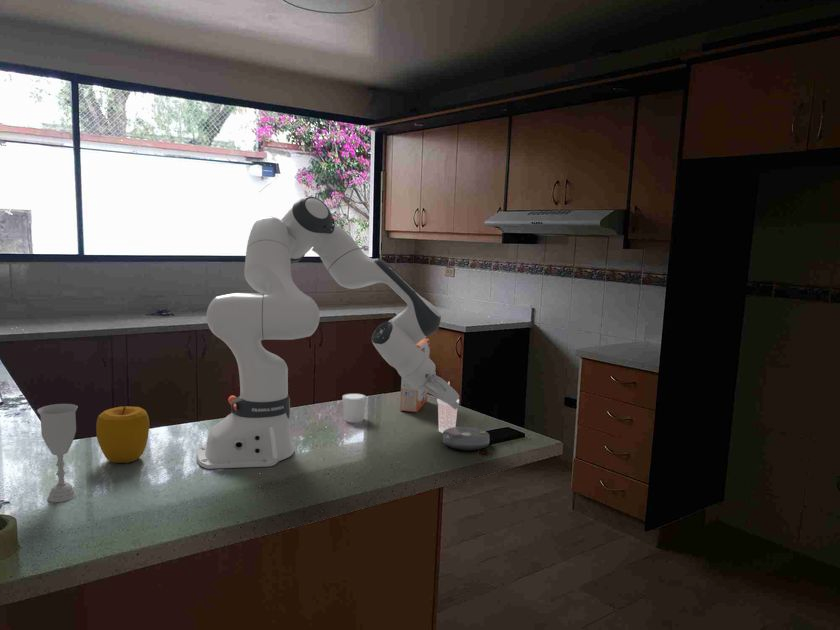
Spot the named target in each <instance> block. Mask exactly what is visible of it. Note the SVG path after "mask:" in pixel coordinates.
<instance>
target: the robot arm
mask: <svg viewBox="0 0 840 630" xmlns="http://www.w3.org/2000/svg"><path fill="white" fill-rule="evenodd" d="M245 250H246V251H245V259H244V261H245V262H244V269H243V270H244V271H243V275H244V276H243V277H244V279H245V281H246V283H248V285H249V286H250V287H251V288H252V289H253V290H254V291H256V292H233V293H227V294H221V295H217V296H215V297H214V298H213V299H212V300H211V301H210V303H209V305H208V307H207V310H206V323H207V325H208V328H209V331H211V333H212V334H213V335H214V336H215V337H216V338H218V339H220V340H221V341H223V342H224V344H226V346H227V347H228V348H229V349H230V351H231V353H232V354H233V355H234V358H235V360H236V362H237V367H238V374H239V387H240V389H239V391H240V392H239V396H237V397H236V395H230V396H229V397H228V399H227V401H228V403H229V404H230V406H231V413H230V414H228V415H226V417H224V418H223V419H222V420H219V421H218V422H217V423H216V424H215V425H213V426H212V427H211V429H210V431H209V433H208V435H207V441H206V444H205V445H202V446H200V448H199V449H198V450H197V452H196V453H197V454H196V460H197V463H198V464H199V466H200V467H203V468H204V469H207V470H209V469H210V470H211V469H233V468H234V469H235V468H238V469H239V468H259V467H261V468H262V467H272V466H275V465H277V464H278V463H279V462H280V461H282V460H286V459H288V458H289V457H292V456H293V455H294V453H295V448H294V444H293V440H292V436H291V430H290V422H289V419H290V414H291V399H290V395H289V393H288V392H289V390H288V389H289V387H288V386H289V382H288V380H289V379H288V377H289V375H288V374H289V372H288V371H289V368H288V365H287V363H286V361H285V360H284V359H283V358H281V357H280V356H279V355H277V354H275V353H272V352H271V351H268V349H266V348H265V347H264V346H263V344H262V341H264V340H269V341H270V340H272V341H273V340H274V341H275V340H276V341H278V340H281V341H283V340H284V341H285V340H287V341H288V340H297V339H304V338H307V337H308V338H309V337H311V336H312V335H313V334H314V333H315V332H316V330H317V329H318V326H319V324H320V318H321V317H320V315H321V312H320V309H319V306H318V304H317V303H316V301H315V300H314V299H313V298H312V297H311V296H309V295H307V294H306V293H304V292H303V291H301V289H299V288H298V286H297V285H296V284H295V283H294V281H293V278H292V277H293V276H292V269H291V265H292V264H296V263H297V262H299V261H301V260H302V259H303V258H304V257H305V255H306V254H307V253H308V252H309V251H312V252H314V253H315V254H317V255H318V257H319V259H320V260H321V263H323V265H324V267H325V269H326V270H327V272H328V274H330V276H331V277H332V279H334V281H335V283H337V284H338V285H339V286H340V287H343V288H344V289H345V288H346V289H349V290H352V289H353V290H355V289H356V290H357V289H361V288H365V287H368V286H372V285H375V284H385V285H387V286H389V288H391V289H392V290H393V291H394V292H395V294H397V295H398V296H399V297H400V298H401V299H402V300H403V301H404V302H405V303H406V307H405V308H404V309H403V310H402V311H401V312H400V313H398V314H396V315H395V316H394V317H393V318H391V319H389V320H388V321H384V322H382V323H380V324H379V325H378V326H377V327H376V328H375V329H374V331H373V333H372V335H371V342H372V345H373V346H374V347H375V349H376V351H377V352H378V354H379V355H380V356H381V357H382V358H383V360H385V362H386V363H388V365H390V367H393V368H394V369H395V370H396V371H397V373H398V375H399V376H400V377H401V378H403V379H404V380H405V381H406V382H407V383H408V384H409V385H410V386H411V387H413V388H416V387H419V388H420V389H422V390H424V391H426V392H427V394H429V395H430V396H433V397H435V398H436V399H437V398H438V399H440V400H441V401H443V402H445V403H447V404H448V405H450V406H451V407H452V408H453V409H455V410H456V409H457V410H458V408H459V407H460V403H459V404H458V403H457V402H456V401H457V400H458V399H459V400H460V395H459V393H458V391H456V389H454V387H452V386H451V385H449V384H448V382H447V381H446V380H444V378H443V377H440V376H438V375H436V374H437V373H436V364H435V362H433V360H432V359H431V358H430V356H429V357H428V356H427V355H426V354H425V353H424V352H423V351H422V350H420V349H418V348H417V346H416V344H417V343H419V342H420V341H421V340H423V339H424V338H425V339H426V338H427V337H430V336H431V335H433V334H434V333H436V332H438V330H439V328H440V324H441V318H442V317H441V313H440V312H439V310H438V309H437V308H436V307H435V305H433V303H431V302H430V301H428V300H427V299H426V298H425V297H423V296H422V295H421V294H420V293H419V292H418V291H417V290H416V289H415V288H414V287H413V286H412V285H411V284H410V283H409V282H408V281H407V280H406V279H405V278H404V277H402V275H401V274H400V273H398V272H397V270H395V269H394V268H393V267H392V266H391V265H390V264H388V263H387V262H386V261H385V260H383V259H381V258H378V257H377V258H372V257H370V256H368V255H367V254H366V253H364V251H363V250H362V249H361V248H360V246H359V245H358V243H357V242H356V241H355V240H354V239H353V238H352V236H350V234H349V233H348V232H347V231H346V230H345V229H343V227H341V226H339V225H337V224H336V223H335V219H334V217H333V214H332V212H331V209H329V207H328V205H327V204H326V203H325V202H324V201H323V200H321V199H319V198H317V197H315V196H311V195H305V196H303V197H301V198H300V199H298V200H297V201H296V202H295V203H293V205H292V207H291V208H290V209H289V210H288V212H287V213H285V215H284V216H283V217H282V218H281V219H279V218H277V217H274V216H264V217H261V218H259V219H258V220H256V221H255V222H254V223H253V225H252V227H251V230H250V232H249V236H248V240H247V246H246V249H245Z"/></svg>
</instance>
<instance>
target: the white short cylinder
mask: <svg viewBox="0 0 840 630" xmlns="http://www.w3.org/2000/svg"><path fill="white" fill-rule="evenodd" d="M341 396H342V398H341V399H342V406H343V407H342V408H343V410H342V411H343V420H344V421H345V422H348V423H361V422H363V421H364V419H365V409H366V402H367V400H366V399H367V395H365V394H362V393H352V392H351V393H346V394H343V395H341ZM360 421H361V422H360Z"/></svg>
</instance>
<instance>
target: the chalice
mask: <svg viewBox="0 0 840 630" xmlns="http://www.w3.org/2000/svg"><path fill="white" fill-rule="evenodd" d="M78 407H79V406H78V405H76V404H75V403H74V404H72V403H55V404H49V405H44V406H42V407H39V408H38V409H37V411H36V412H37V413H38V414H39V416H40V428H41V429H40V433H41V437H42V439H43V442H44V443H45V445H46V446H47V448H48V450H49V451H50V453H51V454H52V455H53V456H56V457H57V460H56V461H57V462H56V463H55V466H56V467H57V472H56V473H55V475H56V476H57V477H58V481H57V483H56V484H55V485H53V486H52V487H51V488H50V492H49V494H48V497H47V498H46V499H47V501H48V502H51V503H62V502H67V501H70V500H72V499H74V498H76V496H77V492H76V491H75V489H74V488H73V485H72V484H71V483H69V482H67V481H65V475H66V473H67V472H66V471H65V469H64V466H65V465H66V463H65V462H64V458H63V457H64V455H66V454H67V453H69V450H70V448H71V446H72V444H73V442H74V439H75V436H76V434H77V433H76V432H77V421H76V419H77V418H76V415H77V414H76V412H77V410H78Z"/></svg>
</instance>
